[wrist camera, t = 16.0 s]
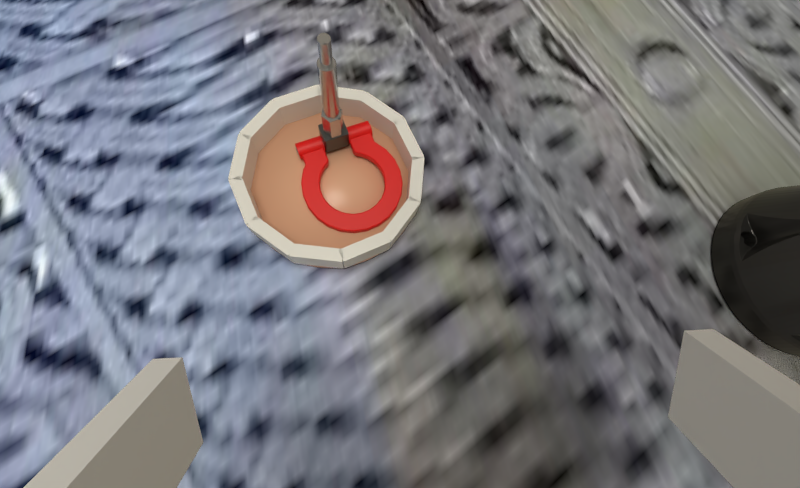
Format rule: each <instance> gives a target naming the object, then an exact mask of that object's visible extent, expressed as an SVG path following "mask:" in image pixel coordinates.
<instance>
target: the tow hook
mask: <svg viewBox="0 0 800 488" xmlns="http://www.w3.org/2000/svg"><path fill="white" fill-rule="evenodd" d="M317 43H318V51H319V58H318V60H317V69H318V76H319V83H320V90H321V97H322V104H323V109H322V114H321V118H322V124H319V125H318V128H319V134H320V136H317V137H314V138H311V139H308V140H305V141H302V142H298V143H295V146H296V147H295V148H296V150H297V153H298V156H299V157H300V159H303V160H304V163H305V167H304V169H303V173H302V180H301V186H302V193H303V197H304V200H305V202H306V204H307V206H308V209H309V210H310V211H311V213H312V214H313V215H314V216H315V217H316V219H317V220H319V221H320V222H321V223H323V224H324V225H326V226H327V227H329V228H332V229H334V230H337V231H340V232H347V233H359V232H366V231H369V230H371V229H374V228H376V227H378V226H380V225H381V224H382V223H384V222H385V221H386V220H388V219H389V218H390V216H391V215H392V214H393V212H394V211H395V210H396V208H397V206H398V203H399V200H400V198H401V195H402V185H403V181H402V176H401V171H400V168H399V166H398V164H397V162H396V160H395V159H394V158H393V156H392V155H391V154H390V153H389V152H388V151H387V150H386V149H385V148H384V147H382V146H381V145H379V144H378V143H376V142H375V141H374V139H373V137H372V136H373V133H372V128H371V126H370V123H369V122H368V121H365V122H361V123H358V124H355V125H352V126H349V127H346V125H345V123H344V121H343V116H342V109H341V108H340V107H339V97H338V83H337V68H336V61H335V59H334V58H333V57H332V48H331V38H330V36H329V35H328V34H326V33H321V34H319V35H318V36H317ZM349 144H350V146H351V149H352V151H353V154H354V155H356V156H360V157H363V158H366V159H368V160H369V161H371V162H372V163H374V164H375V165H376V166H377V167H378V169H379V170H380V172H381V174H382V176H383V179H384V184H385V187H384V193H383V195H382V198H381V199H380V200H379V202H378V203H377V204H376V205H375V206H374V207H372V208H371V209H370V210H367V211H365V212H362V213H356V214H350V213H344V212H341V211H338V210H336V209H335V208H333V207H332V206H330V205H329V204H328V202H327V201H326V200H325V199H324V197H323V195H322V193H321V188H320V182H321V177H322V174H323V172H324V170H325V169H326V168H327V166H328V164H329V160H328V157H327V155H326V152H330V151H333V150H337V149H340V148H343V147H346V146H348V145H349Z"/></svg>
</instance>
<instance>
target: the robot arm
mask: <svg viewBox="0 0 800 488" xmlns="http://www.w3.org/2000/svg"><path fill="white" fill-rule="evenodd" d="M712 261H713V268H714V273H715V276H716V280H717V283H718V285H719V288H720V290H721V292H722V294H723V296H724V298H725V300H726V302H727V304H728V305H729V307H730V308H731V310H732V311H733V312H734V314H735V315H736V316H737V318H738V319H739V320H740V321H741V322H742V323H743V324H744V325H745V326H746V327H747V328H748V329H749V330H750V331H751V332H752V333H753V334H754V335H756V336H757V337H758V338H760V339H761V340H762V341H764V342H766V343H767V344H769V345H771V346H772V347H774V348H776V349H778V350H781V351H783V352H786V353H789V354H792V355H796V356H800V185H799V186H789V187H780V188H775V189H771V190H767V191H764V192H761V193H759V194H756V195H754V196H751V197H749V198H746V199H744V200H742V201H740V202H738V203H736V204H735V205H733V206H732V207H731V208H730V209H729V210H728V211H727V212H726V213H725V214H724V215H723V216H722V218H721V220H720V221H719V223H718V225H717V228H716V230H715V233H714V237H713V243H712ZM668 418H669V419H670V420H671V421H672V422H673V423H674V424H675V425H676V426H677V427H678V428H679V430H680V431H681V432H682V433H683V434H684V435H685V436H686V437H687V438H688V439H689V440H690V441H691V442H692V443H693V445H694V446H695V447H696V448H697V449H698V450H699V451H700V452H701V453H702V454H703V455H704V456H705V457H706V458H707V460H708V461H709V462H710V463H711V464H712V465H713V466H714V467H715V468H716V469H717V470H718V471H719V472H720V474H721V475H722V476H723V477H724V478H725V479H726V480H727V481H728V482H729V483H730V484H731V485H732V486H733V487H734V488H800V385H799V384H798V383H796V382H794V381H793V380H791V379H790V378H788V377H787V376H785V375H784V374H782V373H781V372H779V371H777V370H776V369H774V368H773V367H771V366H770V365H768V364H767V363H765V362H764V361H762V360H760V359H759V358H757V357H756V356H754V355H753V354H751V353H750V352H748V351H747V350H745V349H743V348H742V347H740V346H739V345H737V344H736V343H734V342H733V341H731V340H730V339H728V338H726V337H725V336H723V335H722V334H720V333H719V332H717V331H716V330H714V329H705V330H686V331H684V334H683V340H682V345H681V351H680V356H679V361H678V367H677V372H676V377H675V383H674V388H673V393H672V399H671V404H670V410H669V415H668ZM202 444H203V440H202V436H201V432H200V428H199V424H198V419H197V415H196V411H195V407H194V403H193V399H192V395H191V391H190V387H189V383H188V379H187V375H186V371H185V367H184V362H183V358H164V359H152V360H151V361H150V362H149V363H148V364H147V365H146V366H145V367H144V368H143V369H142V370H141V371H140V372H139V373H138V374H137V375H136V376H135V377H134V378H133V379H132V380H131V381H130V382H129V383H128V384H127V385H126V386H125V387H124V388H123V389H122V390H121V391H120V392H119V393H118V394H117V395H116V396H115V397H114V398H113V399H112V400H111V401H110V402H109V403H108V404H107V405H106V406H105V407H104V408H103V409H102V410H101V411H100V412H99V413H98V414H97V415H96V416H95V417H94V418H93V419H92V420H91V421H90V422H89V423H88V424H87V425H86V426H85V427H84V428H83V429H82V430H81V431H80V432H79V433H78V434H77V435H76V436H75V437H74V438H73V439H72V440H71V441H70V442H69V443H68V444H67V445H66V446H65V447H64V448H63V449H62V450H61V451H60V452H59V453H58V454H57V455H56V456H55V457H54V458H53V459H52V460H51V461H50V462H49V463H48V464H47V465H46V466H45V467H44V468H43V469H42V470H41V471H40V472H39V473H38V474H37V475H36V476H35V477H34V478H33V479H32V480H31V481H30V482H29V483H28V484H27V485H26V486H25V487H24V488H177V486H178V485H179V483H180V481H181V480H182V478H183V476H184V474H185V473H186V471H187V469H188V468H189V466H190V464H191V462H192V461H193V459H194V457H195V456H196V454H197V452H198V451H199V449H200V447H201V445H202Z"/></svg>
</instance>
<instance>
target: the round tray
mask: <svg viewBox="0 0 800 488" xmlns="http://www.w3.org/2000/svg"><path fill="white" fill-rule="evenodd" d="M338 97H339V107H340V108H341V109H342V116H343V121H344V123H345V125H346V127H349V126H352V125H355V124H358V123H361V122H365V121H368V122H369V123H370V126H371V128H372V133H373V136H372V137H373V139H374V141H375V142H376V143H378V144H379V145H381V146H382V147H384V148H385V149H386V150H387V151H388V152H389V153H390V154H391V155H392V156H393V158H394V159H395V160H396V162H397V164H398V166H399V168H400V171H401V176H402V181H403V185H402V195H401V198H400V200H399V203H398V206H397V208H396V210H395V211H394V212H393V214H392V215H391V216H390V218H389V219H388V220H386V221H385V222H384V223H382V224H381V225H380V226H378V227H376V228H374V229H371V230H369V231H366V232H359V233H347V232H340V231H337V230H334V229H332V228H329V227H327V226H326V225H324V224H323V223H321V222H320V221H319V220H317V219H316V217H315V216H314V215H313V214H312V213H311V211H310V210H309V209H308V206H307V204H306V202H305V200H304V197H303V193H302V186H301V180H302V173H303V169H304V167H305V163H304V160H303V159H300V157H299V156H298V153H297V150H296V148H295V147H296V146H295V143H298V142H302V141H305V140H308V139H311V138H314V137H317V136H320V134H319V128H318V125H319V124H322V118H321V114H322V109H323V104H322V97H321V90H320V85H314V86H311V87H308V88H305V89H302V90H299V91H296V92H293V93H289V94H286V95H283V96H280V97H277V98H274V99H273V100H271V101H270V102H269V103H268V104H267V105H266V106H265V107H264V108H263V109H262V110H261V111H260V112H259V113H258V114H257V115H256V116H255V117H254V118H253V119H252V120H251V121H250V122H249V123H248V124H247V125H246V126H245V127H244V128H243V129H242V130H241V131H240V132H239V133H240V134H238V138H237V142H236V147H235V151H234V156H233V160H232V165H231V169H230V173H229V178H228V179H229V183H230V185H231V188H232V190H233V193H234V196H235V198H236V201H237V203H238V206H239V208H240V211H241V214H242V216H243V219H244V221H245V224H246V225H247V227H248V228H249V229H250V230H251V231H252V232H253V233H254V234H255V235H256V236H257V237H258V238H260V239H261V240H263V241H264V242H265V243H267V244H268V245H269V246H271V247H272V248H273V249H274V250H275V251H277V252H278V253H280V254H282V255H283V256H285V257H286V258H287V259H289V260H290V261H291V262H293V263H295V264H304V265H308V266H313V267H319V268H342V269H343V268H347V267H350V266H352V265H356V264H359V263H362V262H365V261H367V260H369V259H371V258H373V257H375V256H377V255H379V254H380V253H382V252H385V251H387V250H389V249H390V248H391V247H392V245H393V244H394V243H395V241H396V240H397V239H398V238H399V237H400V235H401V234H402V233H403V231H404V230H405V228H406V227H407V225H408V224H409V223H410V221H411V220H412V219H413V217H414V216H415V214H416V213H417V210H418V208H419V205H420V203H421V194H422V182H423V169H424V155H423V153H422V151H421V149H420V147H419V145H418V143H417V141H416V140H415V138H414V136H413V134H412V132H411V130H410V128H409V126H408V124H407V122H406V120H405V118H403V116H402V115H400V114H399V113H397V112H396V111H394V110H393V109H391V108H390V107H388V106H387V105H385V104H384V103H383V102H381V101H380V100H378V99H377V98H375V97H374V96H372V95H371V94H369V93H368V92H365V91H362V90H355V89H348V88H341V87H338ZM326 155H327V157H328V160H329V164H328V166H327V168H326V169H325V170H324V172H323V174H322V177H321V182H320V188H321V193H322V195H323V197H324V199H325V200H326V201H327V202H328V204H329V205H330V206H332V207H333V208H335V209H336V210H338V211H341V212H344V213H350V214H356V213H362V212H365V211H367V210H370V209H371V208H372V207H374V206H375V205H376V204H377V203H378V202H379V200H380V199H381V198H382V195H383V193H384V187H385V184H384V179H383V176H382V174H381V172H380V170H379V169H378V167H377V166H376V165H375V164H374V163H372V162H371V161H369V160H368V159H366V158H363V157H360V156H356V155H354V154H353V151H352V149H351V146H350V144H349V145H348V146H346V147H343V148H340V149H337V150H333V151H330V152H326Z"/></svg>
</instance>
